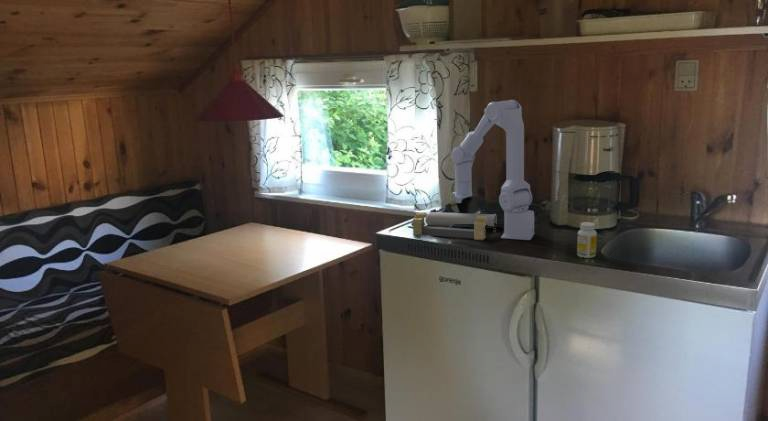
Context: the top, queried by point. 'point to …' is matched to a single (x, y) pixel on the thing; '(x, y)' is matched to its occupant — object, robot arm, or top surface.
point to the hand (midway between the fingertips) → (464, 218)
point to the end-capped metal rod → (478, 226)
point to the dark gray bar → (448, 232)
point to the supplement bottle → (587, 240)
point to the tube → (457, 219)
